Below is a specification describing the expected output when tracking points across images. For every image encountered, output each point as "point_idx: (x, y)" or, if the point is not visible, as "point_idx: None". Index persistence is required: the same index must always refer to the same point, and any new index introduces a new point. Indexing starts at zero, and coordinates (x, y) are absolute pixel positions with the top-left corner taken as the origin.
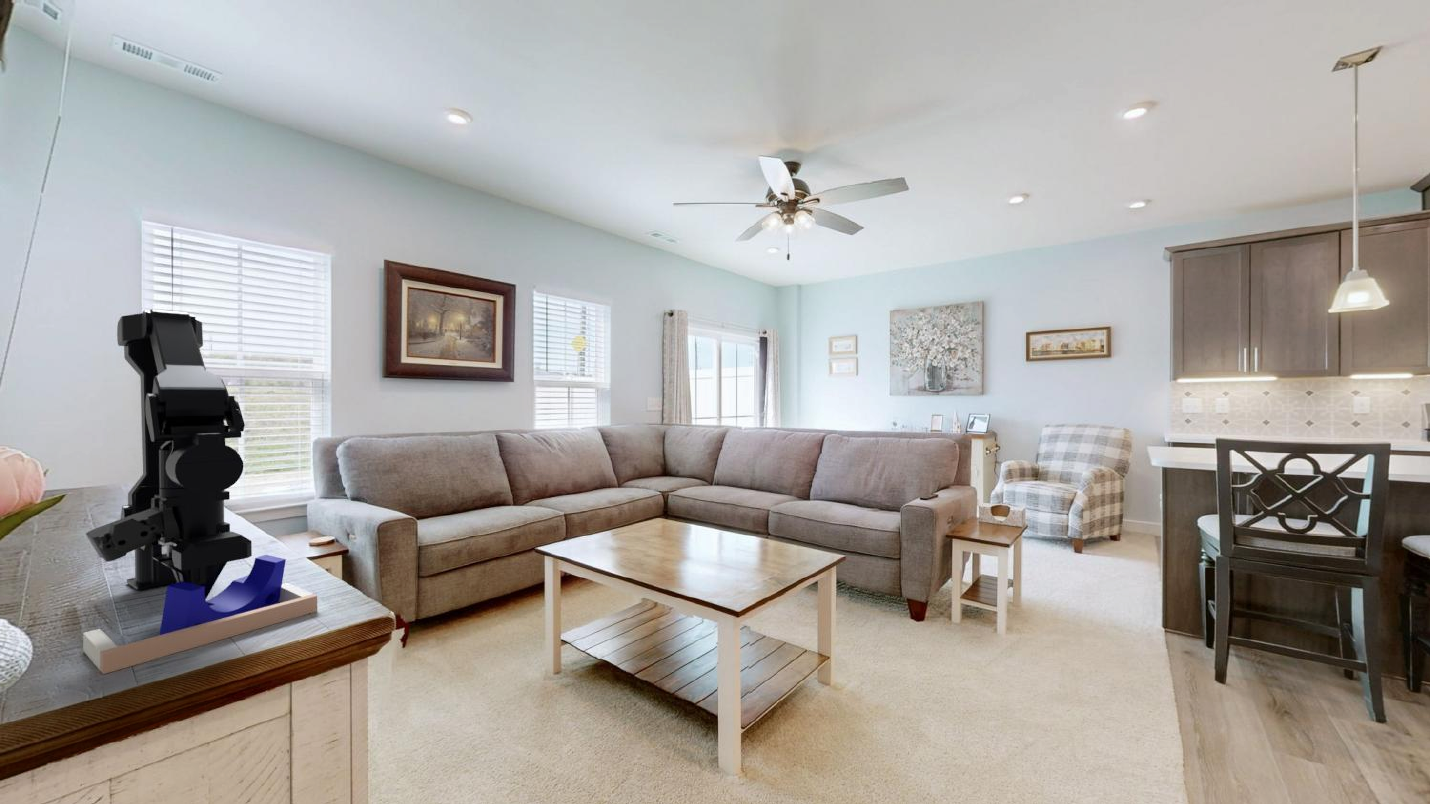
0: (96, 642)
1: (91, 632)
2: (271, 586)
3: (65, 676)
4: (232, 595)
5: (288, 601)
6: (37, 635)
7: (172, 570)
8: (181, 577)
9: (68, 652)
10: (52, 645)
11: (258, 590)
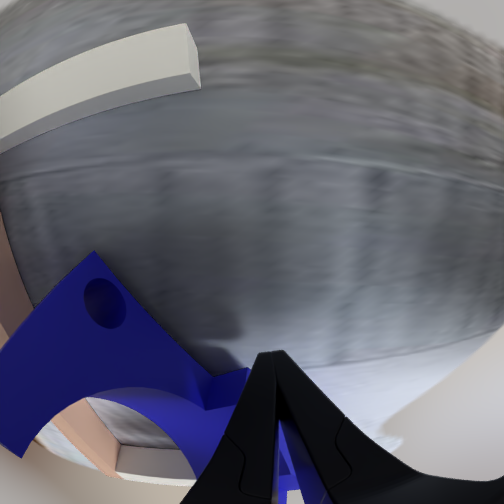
0: (8, 99)
1: (155, 49)
2: None
3: (14, 60)
4: None
5: (96, 458)
6: (482, 37)
7: (405, 466)
8: (218, 489)
9: (236, 18)
10: (371, 9)
11: (199, 471)
